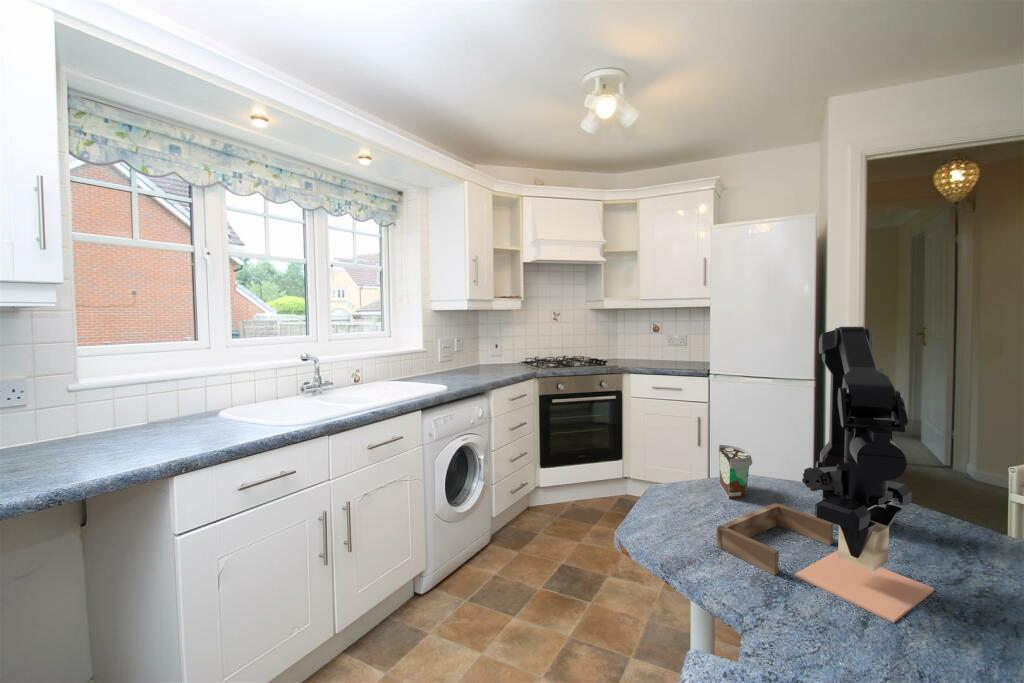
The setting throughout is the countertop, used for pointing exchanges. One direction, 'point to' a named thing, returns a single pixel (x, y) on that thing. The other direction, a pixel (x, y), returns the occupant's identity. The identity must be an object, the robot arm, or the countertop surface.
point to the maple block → (868, 549)
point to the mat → (866, 586)
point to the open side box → (741, 529)
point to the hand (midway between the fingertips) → (862, 551)
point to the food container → (734, 470)
